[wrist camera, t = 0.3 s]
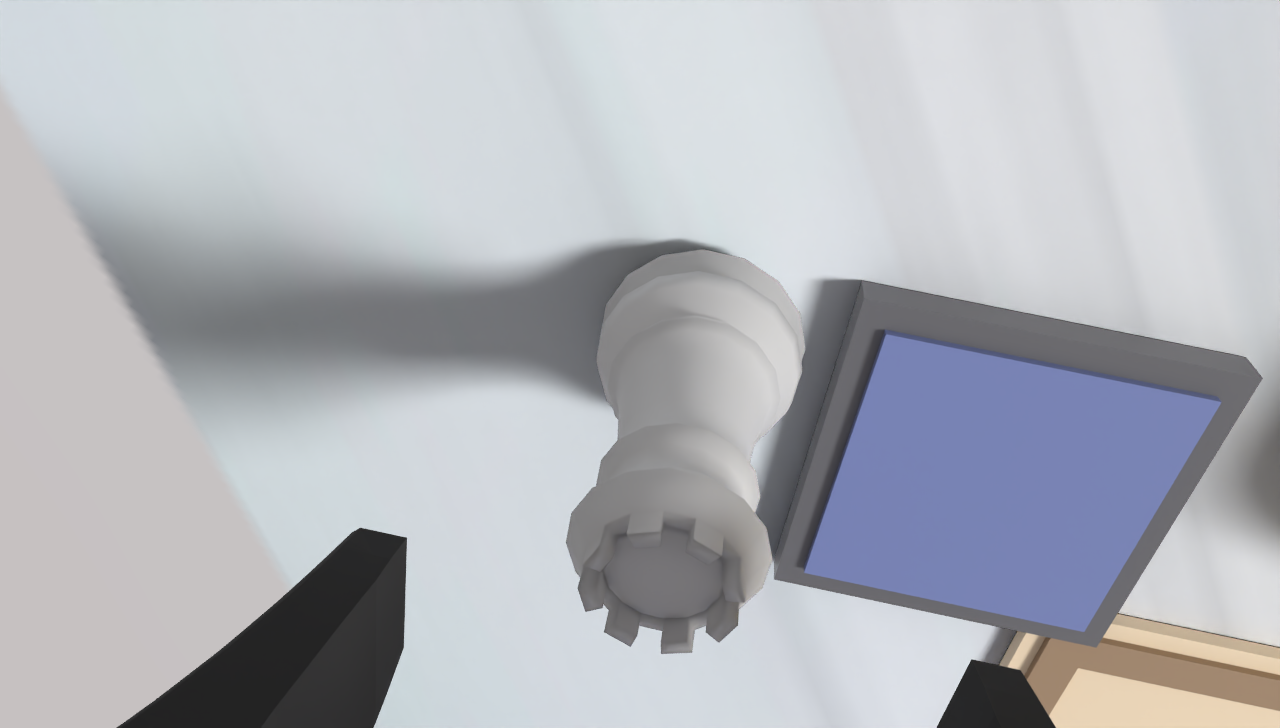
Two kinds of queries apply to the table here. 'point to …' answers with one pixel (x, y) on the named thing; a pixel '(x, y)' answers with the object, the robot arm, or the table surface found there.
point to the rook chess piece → (685, 445)
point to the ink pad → (1002, 462)
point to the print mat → (1151, 678)
